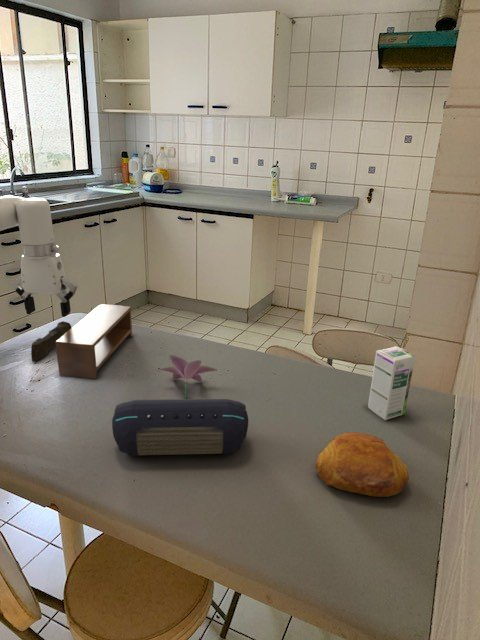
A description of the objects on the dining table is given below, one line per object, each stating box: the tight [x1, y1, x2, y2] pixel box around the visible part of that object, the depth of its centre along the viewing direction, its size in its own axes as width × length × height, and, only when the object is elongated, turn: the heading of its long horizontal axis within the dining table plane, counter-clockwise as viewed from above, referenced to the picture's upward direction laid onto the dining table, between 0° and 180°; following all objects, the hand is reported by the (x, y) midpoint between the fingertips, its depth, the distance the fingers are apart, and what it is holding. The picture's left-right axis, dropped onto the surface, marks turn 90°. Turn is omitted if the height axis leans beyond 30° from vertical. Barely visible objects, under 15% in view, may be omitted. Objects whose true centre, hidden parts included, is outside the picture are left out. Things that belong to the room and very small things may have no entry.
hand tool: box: [30, 320, 72, 363], centre depth 124 cm, size 19×4×5 cm, turn 172°
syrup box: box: [367, 345, 416, 421], centre depth 100 cm, size 6×6×14 cm
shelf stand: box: [55, 303, 133, 380], centre depth 121 cm, size 9×26×9 cm, turn 173°
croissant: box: [314, 431, 410, 498], centre depth 82 cm, size 14×16×8 cm
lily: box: [159, 354, 218, 399], centre depth 106 cm, size 12×12×10 cm
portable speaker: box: [111, 398, 249, 456], centre depth 86 cm, size 25×10×10 cm, turn 95°
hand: (48, 313), depth 121 cm, fingers open, 9 cm apart
